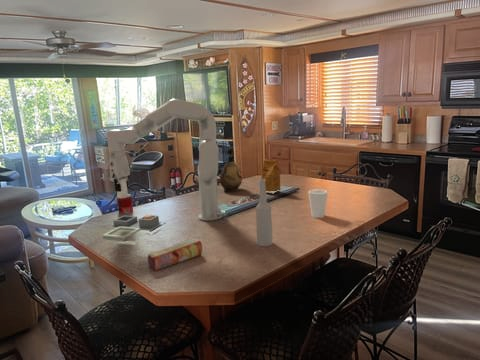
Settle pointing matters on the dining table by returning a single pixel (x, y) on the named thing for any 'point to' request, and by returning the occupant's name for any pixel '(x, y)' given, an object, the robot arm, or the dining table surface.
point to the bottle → (263, 218)
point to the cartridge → (123, 188)
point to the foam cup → (318, 202)
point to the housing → (137, 222)
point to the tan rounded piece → (148, 217)
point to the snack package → (175, 254)
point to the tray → (120, 236)
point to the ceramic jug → (230, 174)
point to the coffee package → (271, 175)
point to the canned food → (125, 204)
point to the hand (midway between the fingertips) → (122, 189)
